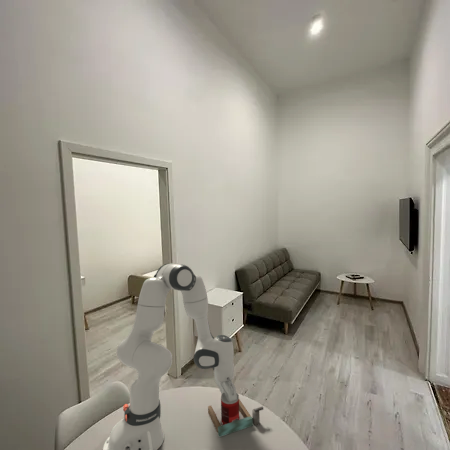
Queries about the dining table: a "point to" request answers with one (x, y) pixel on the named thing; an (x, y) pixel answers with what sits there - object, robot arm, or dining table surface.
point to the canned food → (229, 410)
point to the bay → (238, 424)
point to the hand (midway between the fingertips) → (225, 402)
